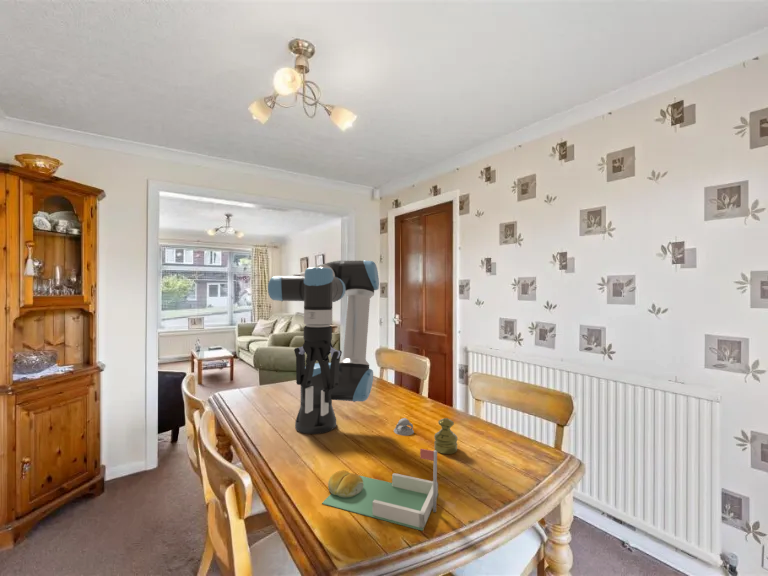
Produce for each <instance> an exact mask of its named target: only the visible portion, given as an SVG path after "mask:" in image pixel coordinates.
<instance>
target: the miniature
mask: <svg viewBox="0 0 768 576" xmlns="http://www.w3.org/2000/svg"><path fill="white" fill-rule="evenodd" d="M413 428H414V425H413V423H412V422H410V420H409V419H408V418H406V417H404V418H403V417H402V418H401V419H399V420H398V422H397V423H396V426H395V428H394V429H393V432H394V433H395V434H396V435H398V436H402V437H403V436H405V437H406V436H411V435H413V434H414V433H415V431H414V429H413Z"/></svg>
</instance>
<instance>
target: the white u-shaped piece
mask: <svg viewBox="0 0 768 576" xmlns="http://www.w3.org/2000/svg"><path fill="white" fill-rule="evenodd" d="M419 450H420V453H419V456H420V457H419V458H420V459H422V460H427V461H432V462H433V464H432V465H433V466H432V467H433V474H432V475H433V476H432V477H433V479H432V480H428V479H423V478H418V477H414V476H410V475H405V474H400V473H395V472H393V473H392V475H391V476H392V478H391V483H392V486H393V487H398V488H402V489H407V490H411V491H415V492H420V493H424V494H428V496H427V498H426V500H425V502H424V504H423V506H422V509H421V511H419V510H414V509H410V508H406V507H402V506H398V505H394V504H390V503H386V502H382V501H378V500H374V501H373V514H372V515H374V516H378V517H382V518H386V519H389V520H393V521H397V522H401V523H404V524H408V525H412V526H416V527H419V528H424V529H425V527H426V524H427V522H428V520H427V519H429V518H430V515H431V513H432V512H433V513H436V512H437V499H436V498H438V496H439V482H438V476H437V475H438V452H437V451H436V450H435V449H434V450H431V449H424V448H420V449H419ZM437 495H438V496H437ZM432 507H433V508H432ZM430 512H431V513H430ZM429 514H430V515H429ZM426 521H427V522H426ZM424 526H425V527H424Z"/></svg>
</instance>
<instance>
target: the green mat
mask: <svg viewBox="0 0 768 576" xmlns="http://www.w3.org/2000/svg"><path fill="white" fill-rule="evenodd" d="M359 476H360V477H361V478H362V480H363V484H364V486H363V489H362V490H361V492H360V493H358V494H357V495H355V496H353V497H348V498H343V497H339V496H338V495H334V494H332V493H331V492H330V494H329V495H328V496H327V497H326V498H325V499H324V500H323V501H322V502H321V504H322V505H325V506H327V507H328V506H329V507H331V508H332V507H333V508H337V509H338V510H339V509H340V510H343V511H346V512H347V511H348V512H351V513H355V514H359V515H363V516H366V517H369V518H372V519H376V520H381V521H384V522H387V523H391V524H395V525H400V526H403V527H406V528H409V529H410V528H411V529H414V530H418V531H424V529H425V527H426V525H425V526H424V528H419V527H416V526H412V525H408V524H404V523H401V522H397V521H393V520H389V519H386V518H382V517H378V516H374V515H372V514H373V501H374V500H378V501H382V502H386V503H390V504H394V505H398V506H402V507H406V508H410V509H414V510H419V511H421V509H422V506H423V504H424V502H425V500H426V498H427V496H428V494H424V493H420V492H415V491H411V490H407V489H402V488H398V487H393V486H392V482H389V481H385V480H381V479H376V478H372V477H367V476H363V475H359ZM438 496H439V494H438V495H437V498H438ZM437 498H436V500H437ZM432 509H433V507H432ZM431 513H432V511H431V512H430V514H429V516H430V515H431ZM428 519H429V518H428ZM428 519H427V521H426V523H427V522H428Z"/></svg>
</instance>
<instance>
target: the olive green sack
mask: <svg viewBox="0 0 768 576" xmlns="http://www.w3.org/2000/svg"><path fill="white" fill-rule="evenodd" d="M454 423H455V422H454V421H453V420H452V419H449V418H448V417H444V418H441V419H439V420H438V425H439V426H440V427H441V428H440V430H439V431H438V432H436V433H435V434H434V445H433V446H434V450H436V451H437V453H440V454H442V455H452V454H455V453H457V451H458V435H457V434H456V433H454V432H453V431H452V430H451V427H453V426H454V425H455V424H454Z"/></svg>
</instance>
